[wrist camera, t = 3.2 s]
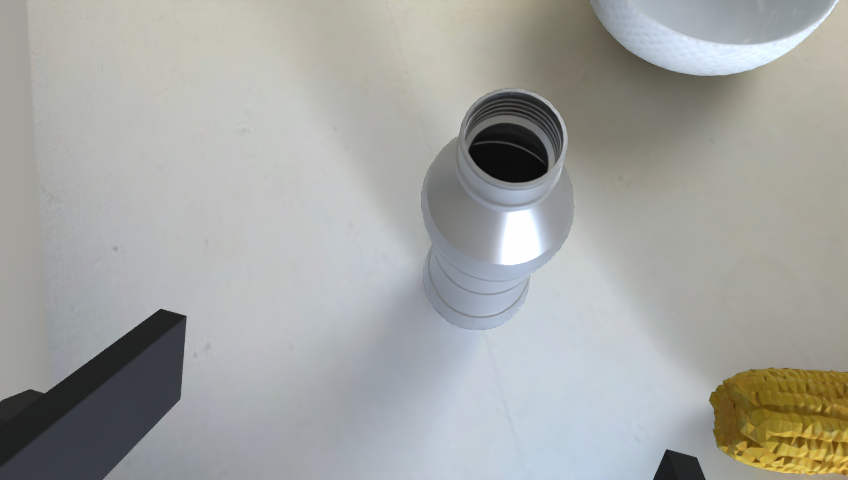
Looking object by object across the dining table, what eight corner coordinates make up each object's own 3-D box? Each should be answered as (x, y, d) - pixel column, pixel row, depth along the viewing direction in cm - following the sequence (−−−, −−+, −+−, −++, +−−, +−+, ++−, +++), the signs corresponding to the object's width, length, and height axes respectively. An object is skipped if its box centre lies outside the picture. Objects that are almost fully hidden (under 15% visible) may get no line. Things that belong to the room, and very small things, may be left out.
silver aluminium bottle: (515, 232, 39) (592, 40, 21) (530, 333, 37) (631, 222, 18) (419, 241, 39) (407, 56, 20) (428, 342, 37) (425, 241, 18)
